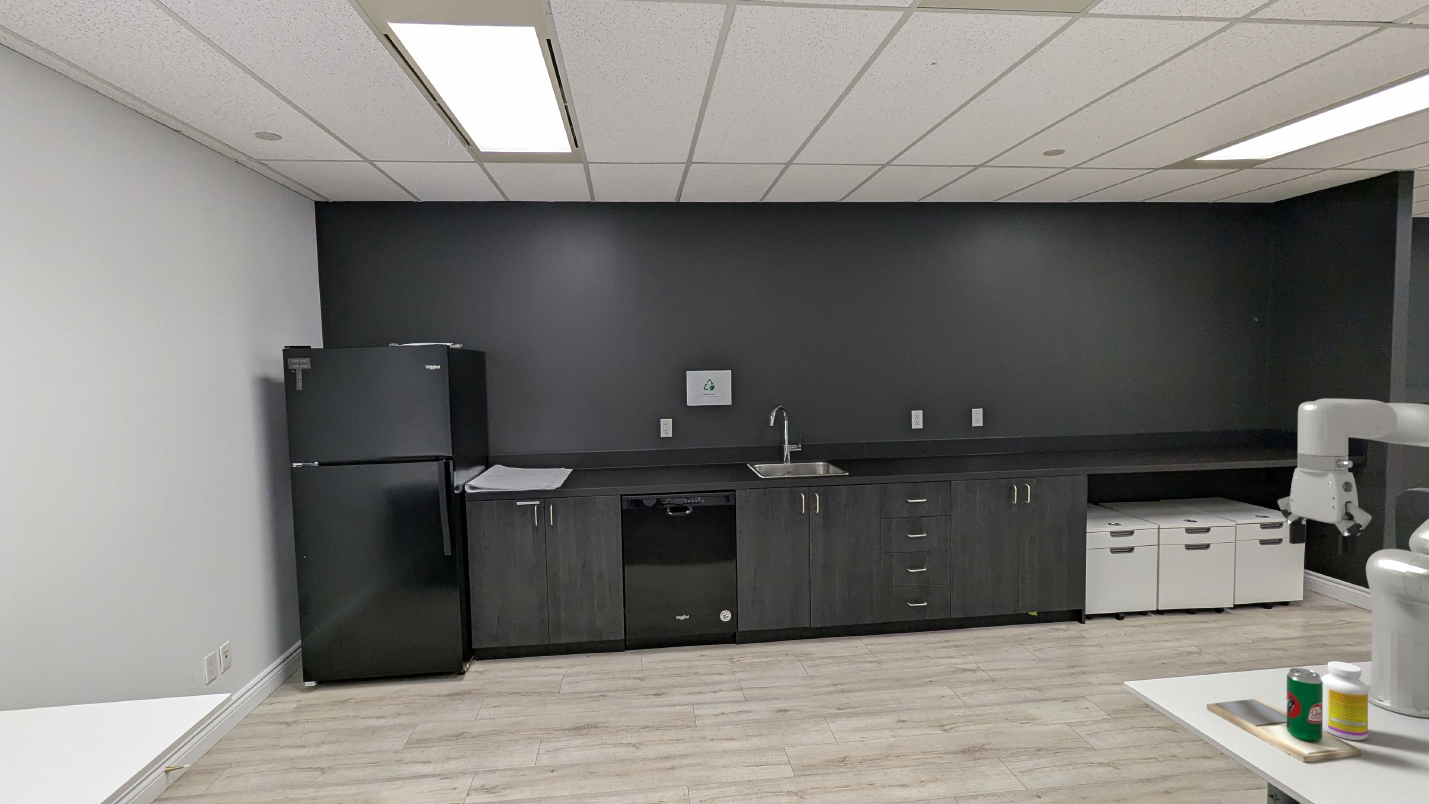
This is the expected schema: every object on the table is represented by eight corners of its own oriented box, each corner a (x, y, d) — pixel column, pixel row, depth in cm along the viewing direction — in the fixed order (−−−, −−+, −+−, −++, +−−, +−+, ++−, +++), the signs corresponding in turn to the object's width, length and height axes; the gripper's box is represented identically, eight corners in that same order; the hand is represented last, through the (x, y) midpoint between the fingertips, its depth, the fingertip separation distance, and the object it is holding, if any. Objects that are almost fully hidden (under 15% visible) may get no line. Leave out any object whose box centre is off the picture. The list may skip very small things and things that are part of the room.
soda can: (1315, 746, 125) (1315, 680, 125) (1281, 734, 129) (1281, 670, 129) (1327, 738, 127) (1327, 674, 127) (1293, 726, 132) (1294, 664, 131)
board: (1257, 703, 144) (1257, 697, 144) (1360, 755, 124) (1361, 747, 124) (1206, 708, 142) (1206, 702, 142) (1303, 762, 122) (1303, 755, 122)
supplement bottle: (1377, 743, 128) (1377, 674, 127) (1335, 740, 129) (1336, 672, 129) (1351, 725, 135) (1352, 659, 134) (1312, 722, 136) (1312, 657, 135)
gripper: (1386, 468, 129) (1385, 559, 130) (1295, 457, 146) (1294, 538, 147) (1352, 470, 128) (1351, 561, 129) (1264, 459, 145) (1264, 540, 146)
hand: (1321, 549), depth 138 cm, fingers open, 9 cm apart
